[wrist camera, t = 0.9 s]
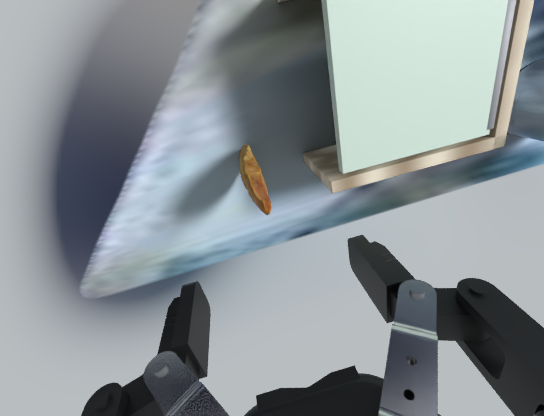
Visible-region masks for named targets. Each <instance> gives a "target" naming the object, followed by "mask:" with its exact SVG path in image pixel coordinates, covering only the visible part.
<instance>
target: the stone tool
mask: <svg viewBox="0 0 544 416" xmlns="http://www.w3.org/2000/svg"><path fill="white" fill-rule="evenodd" d="M239 167H240V174H241V178H242V181H243V183H244V185H245V188H246V189H247V190H248V193H249V195H250V197H251V198H252V199H253V201H254V202H255V203H256V205H257V206H258V207H259V209H260V210H261V211H262V212H264V213H265V214H266V215H268V214H270V211H271V201H270V199H269V197H268V190H267V186H266V182H265V180H264V178H263V175H262V171H261V168H260V167H259V165H258V163H257V161H256V159H255V157H254V155H253V153H252V151H251V148H250V146H249V145H244V146H243V147H242V149H241V150H240V154H239Z"/></svg>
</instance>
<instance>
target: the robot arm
mask: <svg viewBox="0 0 544 416" xmlns="http://www.w3.org/2000/svg"><path fill="white" fill-rule="evenodd" d="M507 133H509V134H513V135H517V136H522V137H527V138H531V139H536V140H540V141H544V59H543V60H539V61H536V62H534V63H532V64H530V65H528V66H527V67H526V68H524V69H523V70H522V71H521V72H520V73H519V77H518V82H517V87H516V91H515V96H514V101H513V106H512V111H511V116H510V121H509V126H508V131H507ZM348 249H349V259H350V265H351V268H352V270H353V272H354V274H355V275H356V277H357V278H358V280H359V281H360V283H361V284H362V286H363V287H364V289H365V290H366V292H367V293H368V295H369V297H370V298H371V299H372V301H373V303H374V304H375V305H376V307H377V309H378V310H379V312H380V313H381V315H382V316H383V318H384V319H385V321H386V322H387V323H389V322H393V321H394V324H392V329H391V336H390V342H389V348H388V355H387V362H386V369H385V375H384V379H382V378H380V377H377V376H374V375H370V374H358V372H357V370H356V368H355V366H352V367H348V368H345V369H342V370H338V371H335V372H332V373H330V374H328V375H327V376H325V377H323V378H322V379H321V380H319V381H318V382H316V383H314V384H313V385H311V386H310V387H307V388H279V389H276V390H273V391H270V392H266V393H263V394H260V395H257V396H256V399H257V405H256V406H254V407H253V408H252V409H251V410H249V411H248V412H247V413H246V414H245V415H244V416H441V415H439V414H438V408H437V407H438V340H448V341H456V342H457V343H458V344H459V346H460V347H461V348H462V350H463V351H464V352H465V353H466V355H467V356H468V357H469V358H470V360H471V361H472V362H473V363H474V365H475V366H476V367H477V369H478V370H479V371H480V372H481V374H482V375H483V376H484V377H485V379H486V380H487V381H488V382H489V384H490V385H491V386H492V388H493V389H494V390H495V391H496V393H497V394H498V395H499V396H500V398H501V399H502V400H503V401H504V403H505V404H506V405H507V407H508V408H509V409H510V410H511V412H512V413H513V414H514V415H515V416H544V328H543V327H542V326H541V325H540V324H538V323H537V322H536V321H535V320H534V319H532V318H531V317H530V316H529V315H528V314H527V313H526V312H524V311H523V310H522V309H521V308H519V306H517V305H516V304H515V303H514V302H513V301H512V300H510V299H509V298H508V297H507V296H506V295H505V294H503V293H502V292H501V291H500V290H498V289H497V288H496V287H495V286H494V285H492V284H490V283H489V282H487V281H484V280H481V279H476V278H467V279H463V280H461V281H460V282H459V283H458V285H457V288H433V287H432V286H431V285H430V284H428V283H426V282H424V281H421V280H416V279H415V278H414V277H413V276H412V275H411V274H410V273H409V272H408V271H407V270H406V269H405V268H404V267H403V265H402V264H401V263H400V262H399V261H398V260H397V259H396V258H395V257H394V256H393V255H392V254H391V253H390V252H389V251H388V249H387V248H386V247H385V246H383V245H381V244H379V243H377V242H372V243H369V242H368V240H367V239H366V238H365V237H364V236H363V235H360V236H356V237H353V238H349V239H348ZM166 317H167V318H166V320H165V326H164V329H163V333H162V337H161V342H160V346H159V350H158V354H157V356H155V357H154V358H153V359H152V360H151V361H150V362H149V364H148V365H147V367H146V369H145V371H144V374H143V375H142V376H140V377H139V378H137V379H135V380H133V381H132V382H130V383H129V384H127V385H125V386H124V387H121V386H120V385H119V384H118V383H110V384H107V385H105V386H103V387H101V388H100V389H99V390H97V391H96V392H95V393H94V394H93V395H92V397H91V398H90V399H89V400H88V402H87V403H86V405H85V407H84V410H83V412H82V415H81V416H229V415H228V413H227V412H226V411H225V410H224V409H223V407H222V406H221V405H220V404H219V403H218V402H217V400H216V399H215V398H214V397H213V396H212V394H211V393H210V392H209V391H208V390H207V388H206V387H205V386H204V385H203V384H202V383H201V382H199V379H200V378H203V377H207V369H208V368H207V367H208V349H209V331H210V306H209V303H208V300H207V298H206V296H205V294H204V292H203V290H202V288H201V286H200V284H199V282H198V281H197V282H193V283H189V284H186V285H183V286H182V289H181V295H180V297H177V298H174V300H173V301H172V303H171V305H170V306H169V307H168V312H167V316H166Z"/></svg>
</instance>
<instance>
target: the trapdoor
mask: <svg viewBox="0 0 544 416" xmlns="http://www.w3.org/2000/svg"><path fill="white" fill-rule="evenodd" d="M321 1H322V10H323V20H324V30H325V39H326V49H327V59H328V69H329V78H330V88H331V98H332V108H333V117H334V127H335V137H336V147H337V156H338V166H339V171H340V172H342V173H343V174H344V173H348V172H352V171H356V170H359V169H363V168H367V167H370V166H374V165H378V164H381V163H385V162H389V161H392V160H396V159H400V158H404V157H407V156H411V155H415V154H418V153H422V152H426V151H429V150H433V149H437V148H441V147H444V146H448V145H452V144H455V143H459V142H463V141H466V140H470V139H474V138H478V137H481V136H485V135H489V132H490V129H493V128H494V123H495V117H496V112H497V106H498V100H499V95H500V89H501V84H502V78H503V72H504V67H505V61H506V56H507V50H508V44H509V39H510V33H511V28H512V22H513V17H514V11H515V5H516V0H321Z"/></svg>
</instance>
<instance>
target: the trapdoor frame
mask: <svg viewBox="0 0 544 416" xmlns="http://www.w3.org/2000/svg"><path fill="white" fill-rule="evenodd" d="M277 1H278V3H281V2H285V1H289V0H277ZM533 3H534V0H516V5H515V11H514V17H513V22H512V28H511V33H510V39H509V44H508V50H507V56H506V61H505V67H504V72H503V78H502V84H501V89H500V95H499V100H498V106H497V112H496V117H495V123H494V128H493V129H490V132H489V135H485V136H481V137H478V138H474V139H470V140H466V141H463V142H459V143H455V144H452V145H448V146H444V147H441V148H437V149H433V150H429V151H426V152H422V153H418V154H415V155H411V156H407V157H404V158H400V159H396V160H392V161H389V162H385V163H381V164H378V165H374V166H370V167H367V168H363V169H359V170H356V171H352V172H348V173H344V174H343V173H342V172H340V171H339V166H338V156H337V147H336V145H332V146H328V147H324V148H321V149H317V150H313V151H309V152H306V153H303V157H304V162H305V163H306V165H307V166H308V167H309V168H310V169H311V170H312V171H313V172H314V173H315V174H316V176H317V177H318V178H319V179H320V180H321V181H322V182H323V183H324V184H325V185H326V186H327V188H328V189H329V190H330V191H331V192H332V193H336V192H339V191H343V190H347V189H350V188H354V187H358V186H361V185H365V184H369V183H372V182H376V181H380V180H383V179H387V178H391V177H394V176H398V175H402V174H405V173H409V172H413V171H416V170H420V169H424V168H427V167H431V166H435V165H438V164H442V163H446V162H449V161H453V160H457V159H460V158H464V157H468V156H471V155H475V154H479V153H482V152H486V151H489V150H493V149H497V148H500V147H504V145H505V140H506V135H507V131H508V126H509V121H510V116H511V111H512V106H513V101H514V96H515V91H516V87H517V82H518V77H519V72H520V67H521V62H522V57H523V52H524V47H525V42H526V38H527V33H528V28H529V23H530V18H531V13H532V8H533Z"/></svg>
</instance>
